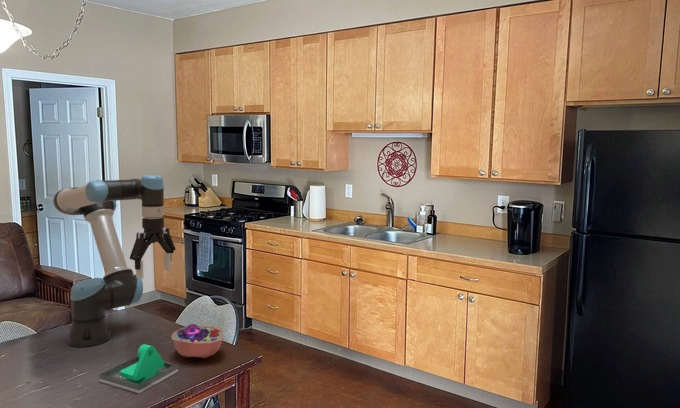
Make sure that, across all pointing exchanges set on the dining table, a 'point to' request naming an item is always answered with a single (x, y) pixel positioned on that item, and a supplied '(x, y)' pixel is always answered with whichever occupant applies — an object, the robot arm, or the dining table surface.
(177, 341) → the cell model
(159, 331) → the dining table surface
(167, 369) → the plate
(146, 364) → the camera mount
